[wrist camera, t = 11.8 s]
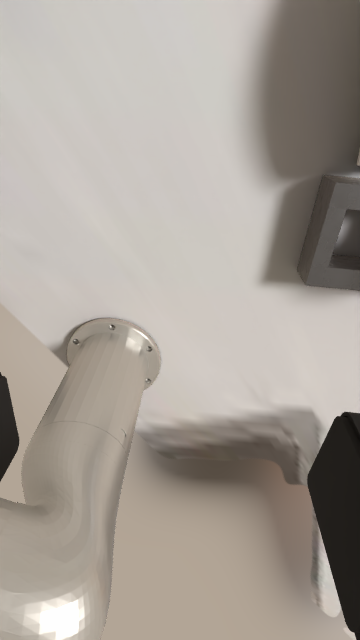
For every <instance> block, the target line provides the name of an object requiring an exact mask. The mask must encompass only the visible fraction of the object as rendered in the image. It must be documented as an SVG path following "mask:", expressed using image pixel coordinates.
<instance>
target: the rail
mask: <svg viewBox="0 0 360 640" xmlns="http://www.w3.org/2000/svg"><path fill="white" fill-rule="evenodd" d="M347 209H350V210H360V178H351V177H340V176H329V175H323V176H322V180H321V183H320V187H319V191H318V194H317V198H316V202H315V205H314V209H313V213H312V216H311V220H310V224H309V227H308V231H307V235H306V238H305V242H304V245H303V249H302V253H301V256H300V260H299V264H298V267H297V271H298V273H299V275H300V276H301V278H302V280H303V282H304V283H305V285H308V286H318V287H329V288H339V289H349V290H360V257H354V256H343V255H333V254H332V253H333V250H334V247H335V244H336V241H337V238H338V235H339V232H340V229H341V226H342V222H343V219H344V216H345V213H346V210H347Z"/></svg>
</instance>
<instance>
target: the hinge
mask: <svg viewBox="0 0 360 640" xmlns="http://www.w3.org/2000/svg"><path fill="white" fill-rule="evenodd" d="M356 165H358V166H360V149H359V154H358V159H357V164H356Z"/></svg>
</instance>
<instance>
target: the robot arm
mask: <svg viewBox="0 0 360 640" xmlns="http://www.w3.org/2000/svg"><path fill="white" fill-rule="evenodd" d="M66 354H67V361H68V364H69V366H70V367H69V369H68V371H67V372H66V374H65V376H64V378H63V380H62V382H61V384H60V386H59V387H58V390H57V391H56V393H55V395H54V397H53V399H52V401H51V403H50V405H49V406H48V408H47V410H46V412H45V414H44V416H43V418H42V420H41V422H40V424H39V426H38V427H37V429H36V431H35V433H34V435H33V437H32V439H31V441H30V443H29V445H28V447H27V449H26V451H25V454H24V458H23V462H22V471H21V472H22V473H21V474H22V486H23V492H24V497H25V502H26V504H22V503H18V502H17V503H15V502H12V501H9V500H6V499H3V498H0V640H100V639H101V636H102V633H103V630H104V627H105V623H106V617H107V613H108V608H109V602H110V593H111V582H112V564H113V548H114V534H115V525H116V517H117V511H118V504H119V499H120V494H121V489H122V483H123V479H124V474H125V470H126V465H127V460H128V456H129V452H130V447H131V443H132V438H133V433H134V429H135V425H136V420H137V416H138V411H139V407H140V402H141V398H142V393H143V391H144V390H146V389H147V388H148V387H149V386H151V385H152V384H153V382H154V381H155V380H156V378H157V376H158V374H159V370H160V363H161V358H160V352H159V350H158V347H157V345H156V343H155V342H154V340H153V339H152V338H151V337H150V336H149V335H148V334H147V333H146V332H145V331H144V330H142V329H141V328H139V327H138V326H136V325H134V324H132V323H130V322H127V321H123V320H120V319H112V318H103V319H97V320H93V321H90V322H88V323H85V324H84V325H82V326H81V327H79V328H78V329H77V330H76V331H75V333H74V334H73V335H72V337H71V339H70V341H69V343H68V346H67V353H66ZM18 446H19V436H18V431H17V427H16V421H15V417H14V412H13V407H12V402H11V398H10V393H9V388H8V384H7V379H6V378H5V376H2V375H1V372H0V481H1V479H2V478H3V476H4V474H5V472H6V470H7V468H8V467H9V465H10V463H11V461H12V459H13V458H14V456H15V454H16V452H17V450H18ZM307 482H308V489H309V492H310V496H311V499H312V503H313V507H314V510H315V514H316V517H317V521H318V525H319V528H320V532H321V535H322V539H323V543H324V546H325V550H326V553H327V557H328V561H329V564H330V568H331V572H332V575H333V579H334V582H335V586H336V590H337V593H338V597H339V600H340V604H341V608H342V611H343V615H344V618H345V622H346V624H347V626H348V628H349V630H350V631H352V632H354V633H355V636H356V640H360V413H351V412H344V413H342V415H341V416H337V417H336V418H335V419H334V421H333V424H332V426H331V428H330V430H329V432H328V434H327V436H326V438H325V440H324V442H323V444H322V446H321V449H320V451H319V453H318V455H317V457H316V459H315V461H314V463H313V465H312V467H311V469H310V471H309V474H308V479H307Z"/></svg>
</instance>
